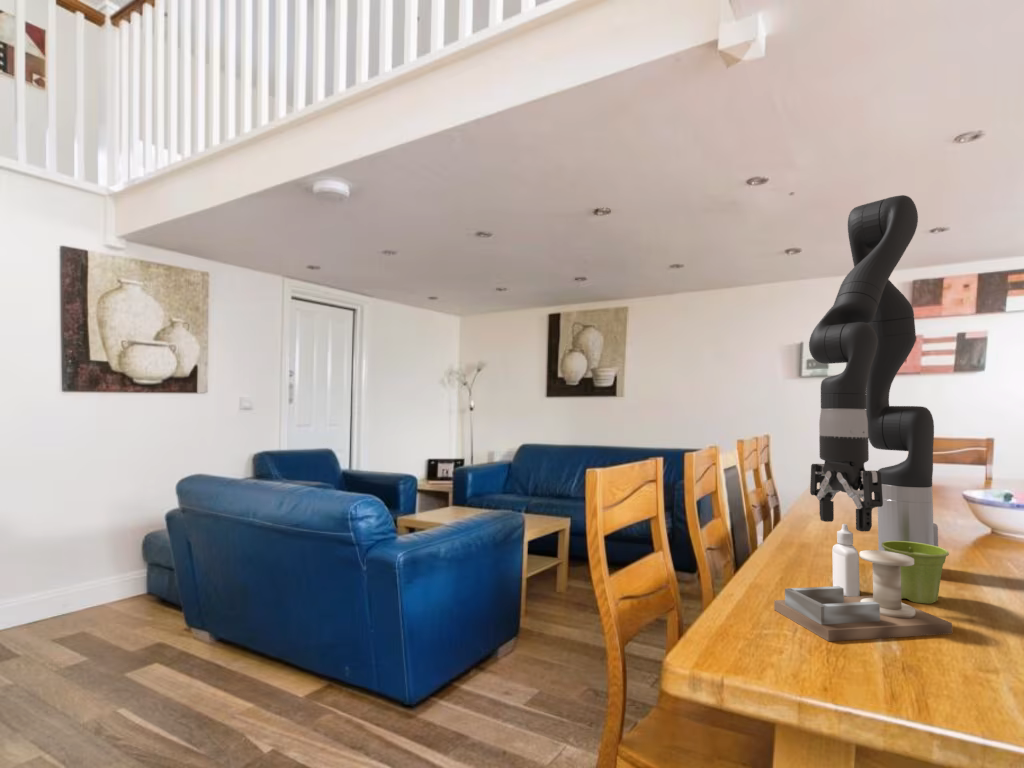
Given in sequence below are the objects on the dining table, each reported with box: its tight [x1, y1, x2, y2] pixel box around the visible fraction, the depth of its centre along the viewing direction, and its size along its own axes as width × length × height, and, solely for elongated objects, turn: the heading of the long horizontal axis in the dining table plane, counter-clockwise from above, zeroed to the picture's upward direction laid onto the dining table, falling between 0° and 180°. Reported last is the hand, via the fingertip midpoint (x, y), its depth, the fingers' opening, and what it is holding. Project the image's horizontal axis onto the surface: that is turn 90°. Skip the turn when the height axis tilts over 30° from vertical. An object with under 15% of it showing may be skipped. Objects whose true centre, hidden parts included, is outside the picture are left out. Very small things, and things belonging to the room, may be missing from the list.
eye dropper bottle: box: [831, 523, 861, 597], centre depth 97 cm, size 4×6×12 cm
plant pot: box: [881, 541, 950, 605], centre depth 94 cm, size 9×9×9 cm
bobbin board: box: [773, 549, 953, 642], centre depth 84 cm, size 20×12×10 cm, turn 99°
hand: (844, 525), depth 97 cm, fingers open, 8 cm apart
